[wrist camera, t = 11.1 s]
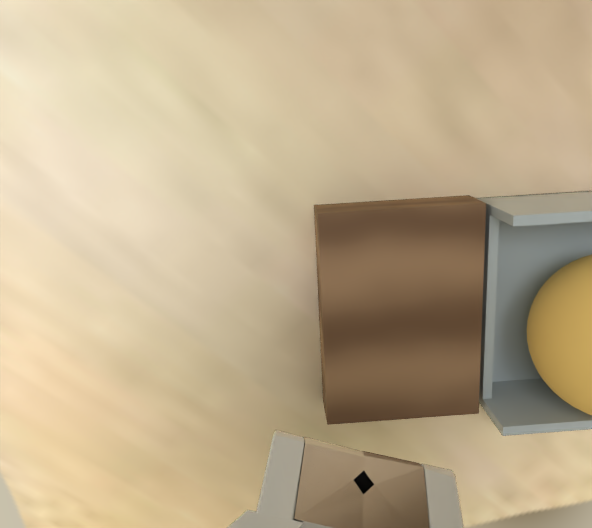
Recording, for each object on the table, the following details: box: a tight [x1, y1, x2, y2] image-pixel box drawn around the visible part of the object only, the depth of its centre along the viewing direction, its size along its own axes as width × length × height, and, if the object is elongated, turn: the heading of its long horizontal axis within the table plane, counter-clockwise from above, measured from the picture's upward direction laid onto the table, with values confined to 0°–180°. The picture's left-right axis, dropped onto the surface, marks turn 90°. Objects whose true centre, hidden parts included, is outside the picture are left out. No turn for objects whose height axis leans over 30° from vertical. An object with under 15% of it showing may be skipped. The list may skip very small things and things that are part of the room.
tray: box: [476, 191, 592, 436], centre depth 36 cm, size 14×13×6 cm
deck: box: [314, 195, 486, 424], centre depth 37 cm, size 14×10×3 cm
